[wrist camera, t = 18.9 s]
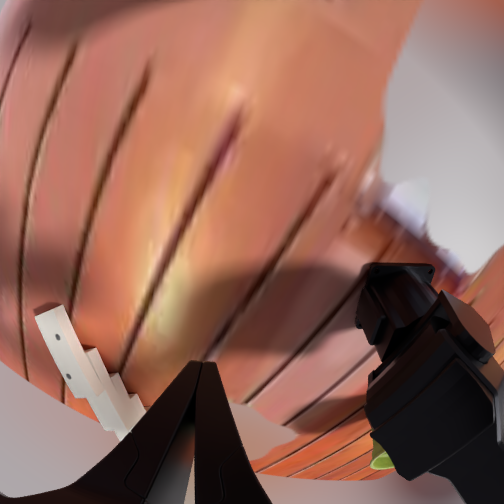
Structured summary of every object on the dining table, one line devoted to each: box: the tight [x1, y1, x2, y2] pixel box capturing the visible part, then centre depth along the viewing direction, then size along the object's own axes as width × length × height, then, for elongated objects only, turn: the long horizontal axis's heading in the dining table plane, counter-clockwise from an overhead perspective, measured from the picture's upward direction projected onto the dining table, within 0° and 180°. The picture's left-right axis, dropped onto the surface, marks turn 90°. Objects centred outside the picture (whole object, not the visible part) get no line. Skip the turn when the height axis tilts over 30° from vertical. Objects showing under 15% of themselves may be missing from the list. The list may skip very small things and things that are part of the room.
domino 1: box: [35, 305, 105, 398], centre depth 24 cm, size 2×4×10 cm
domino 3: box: [108, 373, 140, 442], centre depth 28 cm, size 2×4×10 cm
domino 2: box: [84, 348, 134, 431], centre depth 26 cm, size 2×4×10 cm
